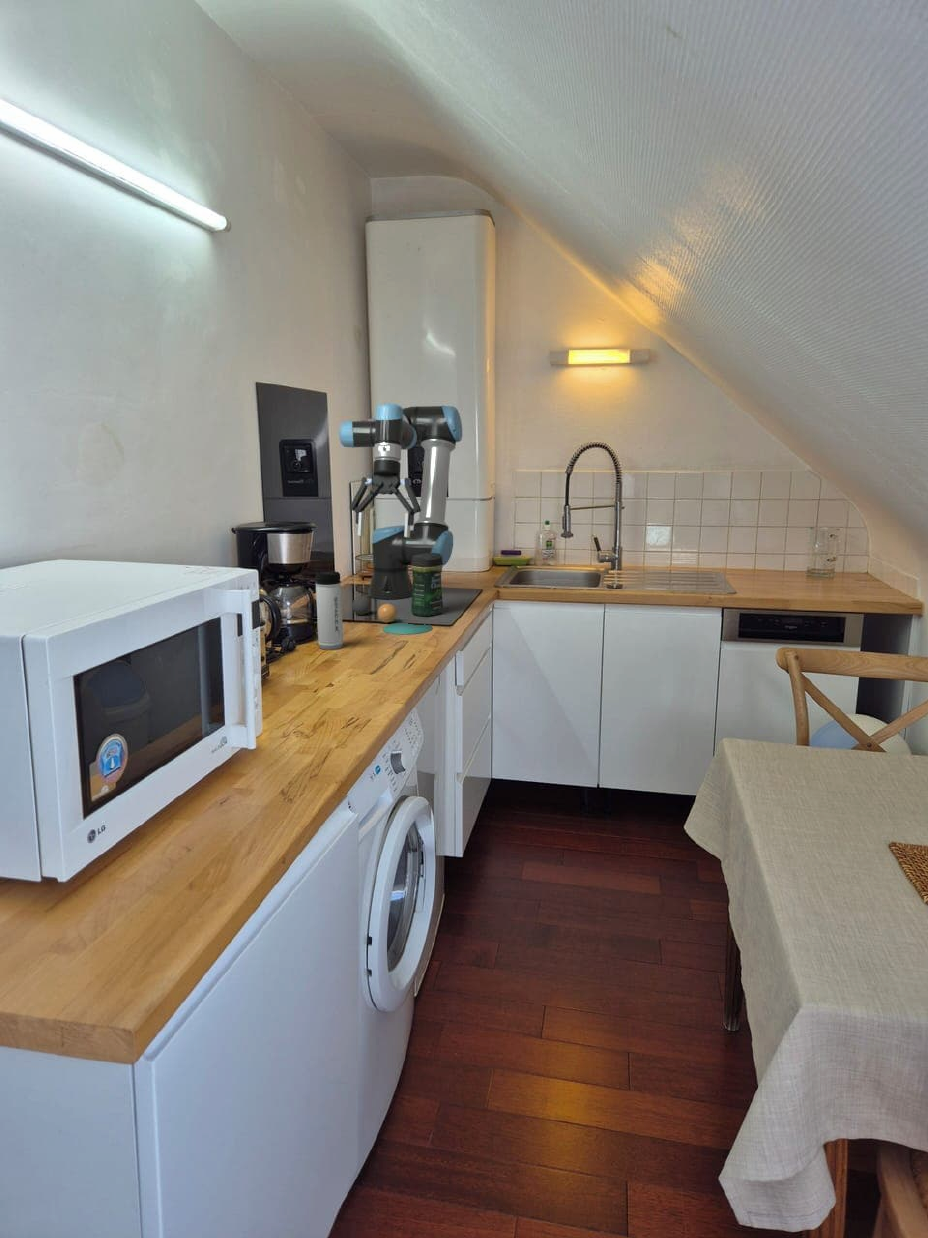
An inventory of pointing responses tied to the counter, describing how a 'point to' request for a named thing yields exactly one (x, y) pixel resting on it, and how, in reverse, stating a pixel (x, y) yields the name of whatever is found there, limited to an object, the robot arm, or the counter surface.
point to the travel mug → (329, 609)
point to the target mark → (406, 628)
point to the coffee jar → (427, 584)
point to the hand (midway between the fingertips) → (383, 536)
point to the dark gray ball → (361, 605)
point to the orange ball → (387, 613)
